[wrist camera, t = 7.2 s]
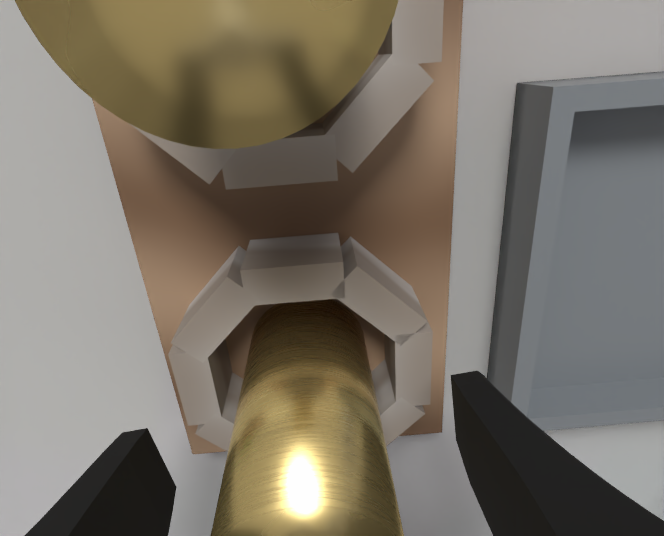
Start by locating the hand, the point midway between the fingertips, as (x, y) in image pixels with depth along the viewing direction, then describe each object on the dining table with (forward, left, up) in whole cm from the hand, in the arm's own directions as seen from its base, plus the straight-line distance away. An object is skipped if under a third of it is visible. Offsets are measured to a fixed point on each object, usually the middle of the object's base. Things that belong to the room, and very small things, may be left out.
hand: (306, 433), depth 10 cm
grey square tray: (-12, -1, -5) cm, 13 cm away
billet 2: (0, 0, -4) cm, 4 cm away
